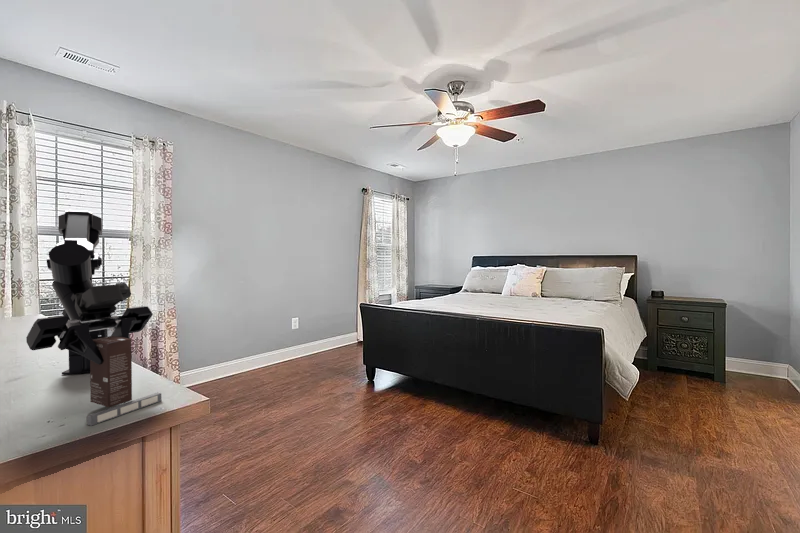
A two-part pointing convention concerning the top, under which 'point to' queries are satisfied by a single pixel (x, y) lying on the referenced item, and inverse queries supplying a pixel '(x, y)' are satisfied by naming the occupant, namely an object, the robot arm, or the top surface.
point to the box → (112, 372)
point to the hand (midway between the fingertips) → (115, 359)
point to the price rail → (123, 409)
